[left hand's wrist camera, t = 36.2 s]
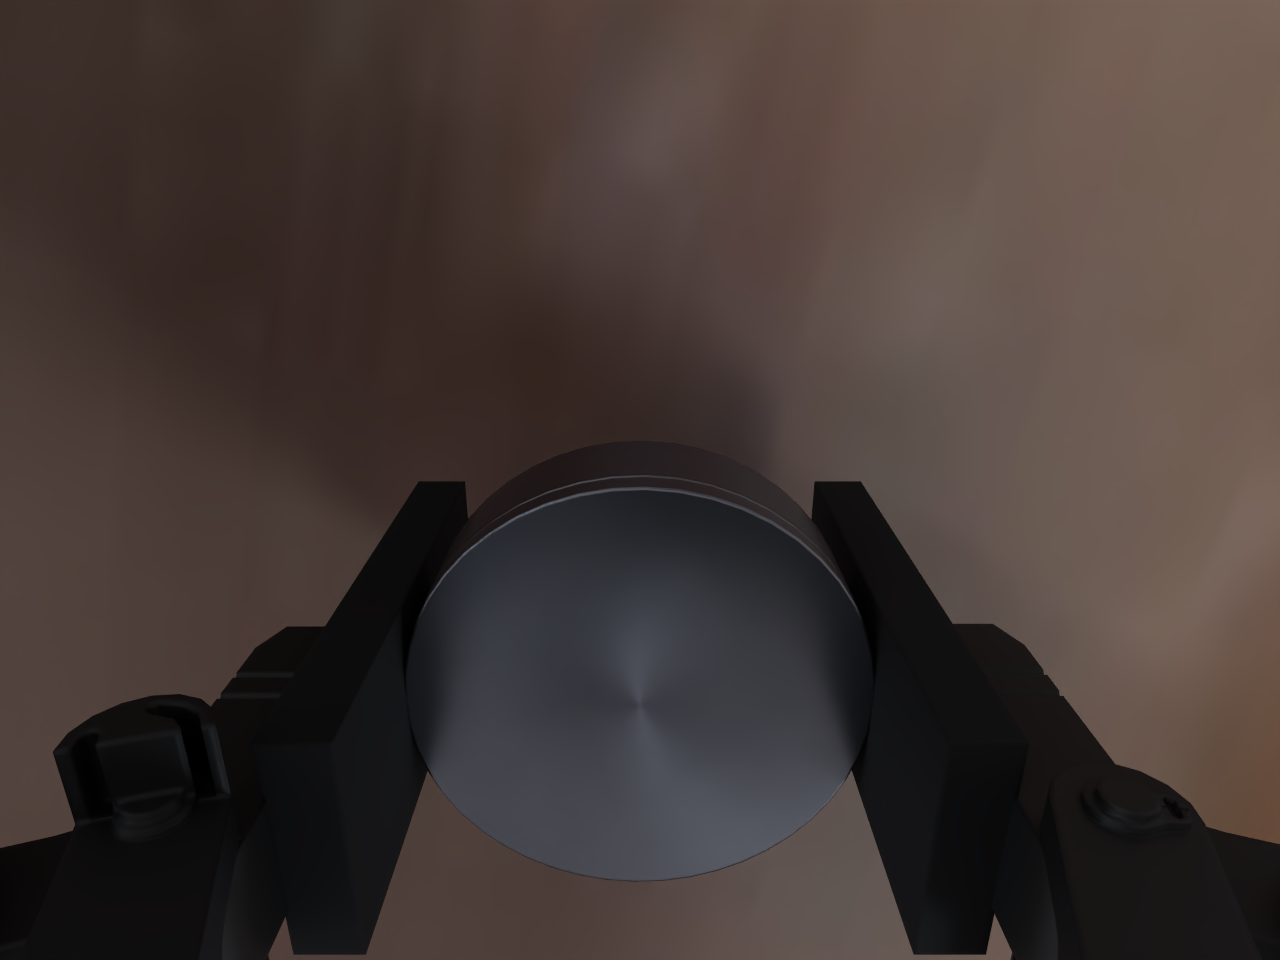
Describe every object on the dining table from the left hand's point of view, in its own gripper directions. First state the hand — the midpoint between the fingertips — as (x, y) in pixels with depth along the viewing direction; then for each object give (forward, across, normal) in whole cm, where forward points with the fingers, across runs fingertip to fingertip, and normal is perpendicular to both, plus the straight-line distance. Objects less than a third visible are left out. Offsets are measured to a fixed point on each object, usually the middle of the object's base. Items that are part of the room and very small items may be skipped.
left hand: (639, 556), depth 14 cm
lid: (-4, 0, 0) cm, 4 cm away
